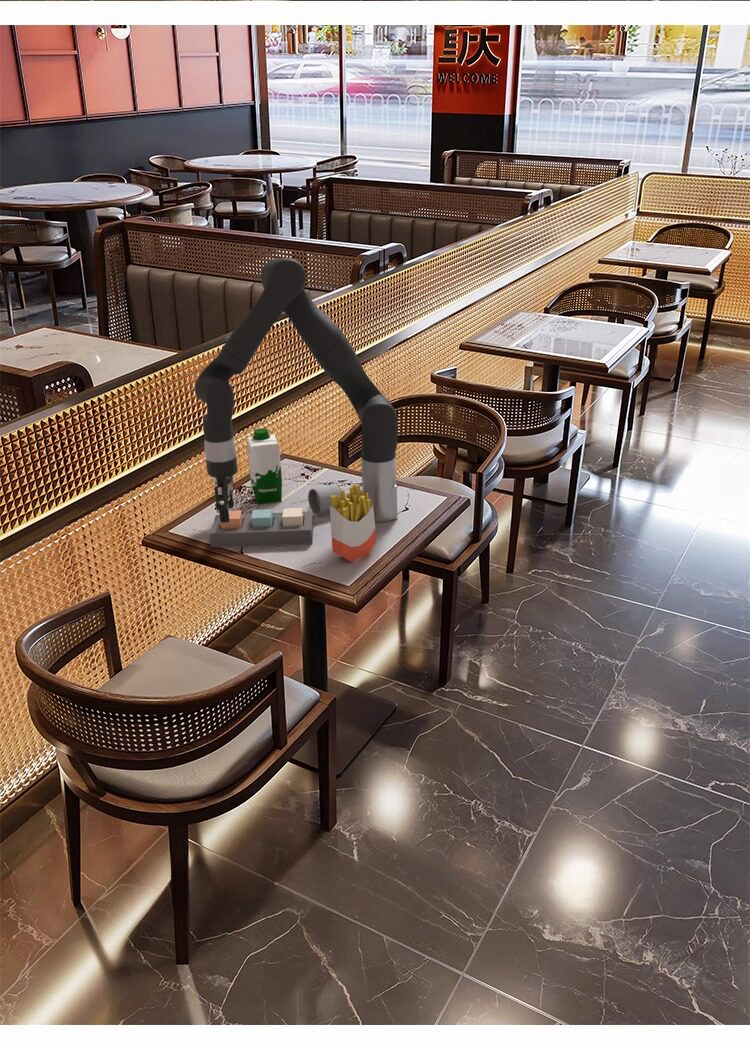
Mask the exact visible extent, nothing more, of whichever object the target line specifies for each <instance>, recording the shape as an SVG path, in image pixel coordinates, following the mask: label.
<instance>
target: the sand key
mask: <svg viewBox="0 0 750 1049" xmlns="http://www.w3.org/2000/svg"><path fill="white" fill-rule="evenodd" d="M282 512H283V515H282V521H283V526H303V512H304V510H303V507H297V508H293V507H292V508H283V511H282Z"/></svg>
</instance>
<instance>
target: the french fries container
mask: <svg viewBox="0 0 750 1049" xmlns="http://www.w3.org/2000/svg"><path fill="white" fill-rule="evenodd" d="M348 489H349V491H348V492H347V493H346V492H345V489H342V490H340V491H341V496H340V495H339V496H337V497H336V496H335V495H332V496H330V497H331V506H330V513H329V514H330V532H331V533H330V534H331V550H332V553H333V554H336V555H337V556H339V557H341V558H343V559H345V560H347V561H349V562H350V563H354V562H355V561H358V560H360V559H362V558H365V557H366V556H368V555H369V554H370V553H371V551H372V549H373V547H374V546H375V545H376V541H377V538H376V536H377V535H376V522H375V520H374V510H373V503H372V501H371V499H370V497H369V493H364V491H363V490H361V484H359V483H354V484H352V486H350V487H349V488H348Z"/></svg>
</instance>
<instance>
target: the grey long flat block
mask: <svg viewBox="0 0 750 1049" xmlns="http://www.w3.org/2000/svg"><path fill="white" fill-rule="evenodd" d="M272 513H273V525H272V527H254V528H252V522H251V517H252V513H242V518H243V524H242V528H228V529H221V523H220V514H215V516H214V520H213V523H212V527H211V529H210V530H209V531H210V532H209V539H210V545H211V546H210V547H216V548H235V547H236V548H237V547H261V546H263V547H265V546H266V547H267V546H268V547H269V546H291V545H313V541H314V531H315V529H314V528H315V519H314V513H313V511H309V510H308V511H303V526H283V521H282V515H283V511H282V512H272ZM313 530H314V531H313Z"/></svg>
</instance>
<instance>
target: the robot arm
mask: <svg viewBox="0 0 750 1049" xmlns="http://www.w3.org/2000/svg"><path fill="white" fill-rule="evenodd" d="M306 275H307V274H306V271H305V269H304V266H303V265H302V264H301V262H299V261H298V260H296V259H293V258H288V257H280V258H279V257H276V258H273V259H270V260H268V261H267V262H265V263H264V265H263V266H262V268H261V271H260V282H261V285H262V288H263V291H262V293H261V295H260V296H259V298H258V300H257V301H256V303H255V304H254V306H253V307H252V308H251V310H250V311H249V312H248V313H247V314H246V316H245V317H244V318H243V319H242V320H241V321H240V322H239V323H238V325H237V326H236V327H235V328H234V329H233V331H232V332H231V334H230V335H229V336H228V339H227V340H226V342H225V343H224V345H223V346H222V348H221V349H220V351H219V353H218V355H216V357H215V358H213V359H212V361H210V362H209V364H208V365H207V366H205V368H204V369H203V370H202V371H201V373H200V374H199V375H198V377H197V378H196V382H195V383H194V393H195V395H196V397H197V398H198V399H199V400H200V401H202V402H203V403H205V404H206V409H207V410H206V413H207V414H206V415H204V417H203V419H202V429H203V439H204V456H205V457H204V458H205V465H206V470H207V471H206V472H207V473H206V474H207V475H208V476H209V477H210V478H211V477H214V478H216V482H214V488H213V490H214V497H215V507H216V508H215V509H216V511H218V512H219V514H218V515H220V522H222V523H226V522H229V511H230V510H229V511H228V508H229V509H233V508H234V497H233V496H234V494H233V493H234V488H235V485H234V479H233V475H235V476H236V474H237V473H238V471H239V469H238V468H239V467H238V459H237V449H236V443H235V439H234V430H233V422H232V421H233V420H232V419H233V414H234V407H235V406H234V405H235V395H234V394H235V393H234V391H233V390H234V389H233V387H232V384H230V382H229V381H230V380H231V379H232V378H233V377H234V376H235V375H241V374H242V373H244V371H245V370H246V368H247V367H248V365H249V364H250V362H251V361H252V358H253V357H254V356H255V354H256V353H257V351H258V348H259V347H260V346H261V344H262V342H263V340H264V339H265V338H266V336H267V334H268V333H269V332H270V330H271V329H272V327H273V326H274V324H275V323H276V321H277V320H278V319H279V317H281V315H282V314H283V313H284V314H285V315H286V316H287V318H288V319H289V321H290V322H291V323H292V324H293V325H292V326H293V327H294V329H295V330H296V332H297V334H298V335H299V336H300V338H301V340H302V341H303V342H304V344H305V345H306V346H307V348H308V350H309V351H310V352H311V354H312V356H313V358H314V359H315V360H316V361H317V363H318V364H319V366H320V367H321V368H322V369H323V371H324V372H325V373H326V374H327V375H328V376H329V378H330V379H331V380H332V381H333V382H335V383H336V385H337V386H339V387H340V389H341V390H342V391H343V392H344V394H345V395H346V397H347V398H348V400H349V402H350V403H351V405H352V407H353V409H354V410H355V412H356V414H357V417H358V419H359V421H360V423H361V440H362V442H361V443H362V444H361V447H360V460H361V463H360V464H361V484H362V485H361V487H362V490H363V491H364V493H369V497H370V499H371V501H372V503H373V510H374V520H375V523H382V522H384V523H385V522H389V521H392V520H396V519H398V485H397V452H396V451H397V448H398V416H397V413H396V410H395V408H394V407H393V405H392V403H391V402H390V401H389V400H388V398H387V397H386V396H385V395H384V394H383V392H381V391H380V390H379V388H378V387H377V386H376V385H375V383H374V382H373V381H372V380H371V379H370V377H369V376H368V374H367V373H366V370H365V369H364V367H363V365H362V363H361V361H360V359H359V356H358V355H357V353H356V351H355V350H354V347H353V346H352V345H351V343H350V341H349V339H348V338H346V335H344V333H343V331H342V330H341V329H340V327H339V326H338V325H337V324H336V323H335V322H334V321H333V320H332V319H331V318H330V317H329V316H328V314H326V313H325V312H324V311H322V309H320V307H318V306H317V304H315V302H314V301H313V300H312V299H311V297H310V296H309V294H308V293H307V291H306V289H305V288H304V287H305V285H306V281H307V280H306V279H307V278H306V277H307V276H306ZM221 502H223V503H221Z"/></svg>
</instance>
